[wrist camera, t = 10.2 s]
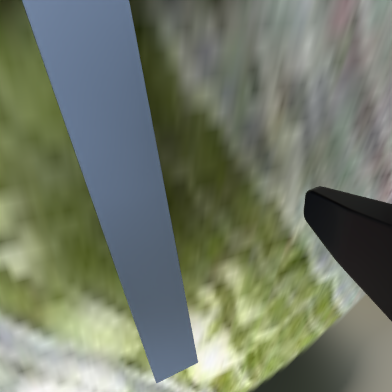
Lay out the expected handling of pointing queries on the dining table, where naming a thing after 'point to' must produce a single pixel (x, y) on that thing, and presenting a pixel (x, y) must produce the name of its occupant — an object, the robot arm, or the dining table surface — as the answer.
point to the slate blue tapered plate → (119, 162)
